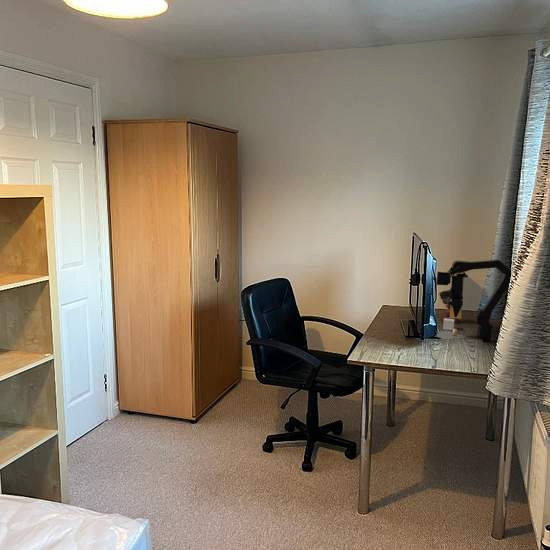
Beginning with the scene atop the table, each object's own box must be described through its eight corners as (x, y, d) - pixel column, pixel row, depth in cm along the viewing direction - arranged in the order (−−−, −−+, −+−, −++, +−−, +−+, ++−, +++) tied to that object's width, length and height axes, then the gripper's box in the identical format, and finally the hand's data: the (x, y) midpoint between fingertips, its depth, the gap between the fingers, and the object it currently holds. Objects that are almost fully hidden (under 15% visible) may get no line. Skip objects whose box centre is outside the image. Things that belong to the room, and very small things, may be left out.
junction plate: (466, 339, 284) (466, 330, 284) (444, 341, 279) (444, 332, 278) (447, 332, 297) (448, 324, 296) (426, 334, 291) (426, 326, 291)
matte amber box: (461, 316, 287) (461, 304, 286) (460, 318, 282) (461, 306, 281) (450, 315, 288) (450, 304, 287) (449, 317, 283) (450, 306, 282)
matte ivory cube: (453, 329, 304) (454, 319, 303) (453, 332, 299) (454, 321, 298) (443, 328, 306) (444, 318, 305) (442, 331, 301) (443, 320, 300)
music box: (458, 325, 316) (457, 290, 313) (438, 324, 320) (437, 289, 318) (460, 319, 330) (460, 286, 327) (441, 319, 334) (440, 286, 332)
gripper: (441, 282, 294) (439, 311, 296) (439, 287, 276) (438, 318, 279) (463, 283, 290) (462, 312, 293) (463, 288, 273) (461, 320, 275)
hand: (455, 315), depth 285 cm, fingers closed on matte amber box, 5 cm apart
